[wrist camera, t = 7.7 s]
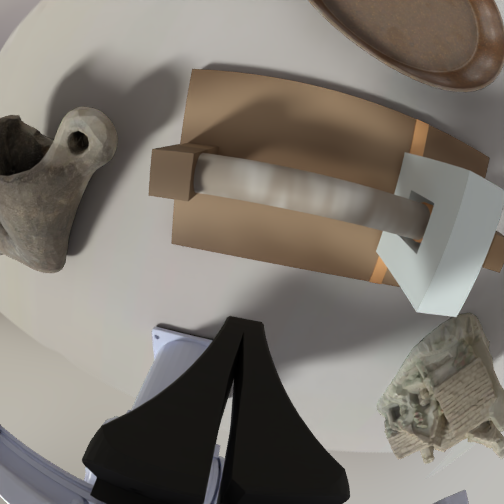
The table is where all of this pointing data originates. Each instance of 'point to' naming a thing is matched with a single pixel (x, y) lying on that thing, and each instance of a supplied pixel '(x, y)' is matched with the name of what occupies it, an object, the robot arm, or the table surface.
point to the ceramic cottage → (445, 393)
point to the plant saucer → (426, 37)
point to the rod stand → (298, 175)
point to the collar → (442, 234)
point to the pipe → (48, 183)
